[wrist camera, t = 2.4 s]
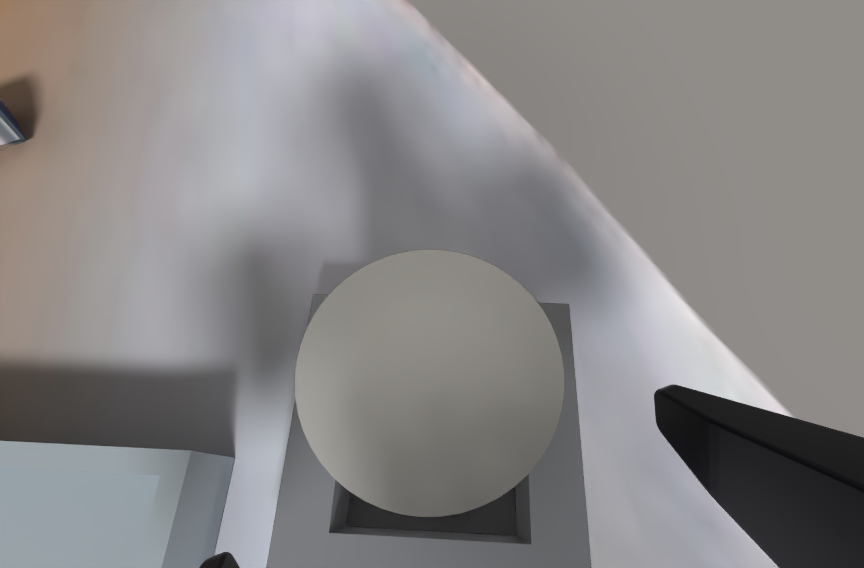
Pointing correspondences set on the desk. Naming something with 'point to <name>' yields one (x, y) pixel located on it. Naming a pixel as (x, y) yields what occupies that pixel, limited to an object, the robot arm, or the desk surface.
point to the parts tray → (109, 506)
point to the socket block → (429, 550)
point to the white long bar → (8, 128)
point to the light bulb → (429, 383)
